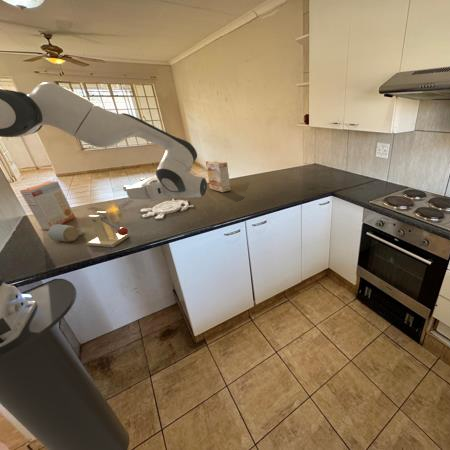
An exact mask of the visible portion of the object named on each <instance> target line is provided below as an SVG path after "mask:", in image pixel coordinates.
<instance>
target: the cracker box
mask: <svg viewBox="0 0 450 450" xmlns="http://www.w3.org/2000/svg"><path fill="white" fill-rule="evenodd" d="M19 192H20V195H21V196H22V197H23V199H24V201H25V203H26V204H27V206H28V208H29V210H30V211H31V213H32V215H33V216H34V218H35V220H36V222H37V223H38V225H39V226H40V228H41V230H49V229H50V228H51V227H52V226H53V225H56V224H62V225H65V224H66V223H68V222H71V221H72V220H74V219H76V215H75V214H74V212H73V210H72V207H71V206H70V205H71V204H70V203H69V201H68V200H67V197H66V196H65V193H64V191H63V190H62V187H61V185H60V183H59V182H58V181H56V180H55V181H49V180H48V181H44V182H42V183H38V184H35V185H33V186H29V187H27V188H24V189H23V188H22V189H20V190H19Z"/></svg>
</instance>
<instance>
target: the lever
mask: <svg viewBox="0 0 450 450" xmlns="http://www.w3.org/2000/svg"><path fill="white" fill-rule="evenodd" d="M95 215H97V216H100V218H101V221H103V222H104V223H106V224H108V225H110V226H111V227H113V228H114V230H115V231H116V230H117V234H120V235H126V234H127V235H128V233H129V229H128V228H127V227H124V226H122V227H120V226H118V225H116V224H115V223H114V222H112V221H111V222H110V221H108V220H106V219H104V218H105V216H104V215H102V214H100V213H98V214H97V213H96V214H95Z"/></svg>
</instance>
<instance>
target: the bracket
mask: <svg viewBox="0 0 450 450" xmlns="http://www.w3.org/2000/svg"><path fill="white" fill-rule="evenodd" d="M98 213H100V214H102V215H104V216H105V218H104V219H106V220H108V221H110V222H111V223H112V220H111V218H110V215H109V213H108V212H107V211H99V210H98V211H96V214H98ZM96 214H90V215H88V219H89V222H90V223H91V225H92V227H93V230H94V232H95V234H96V237H94V238H93V239H91V240H90V241H88V242H87V244H88V246H92V247H105V248H106V247H107V248H114V247H116V246H117V245H119V244H120V243H122V242H124V241H125V240H126V239H128V238H129V234H128V233H127V234H126V235H120V234H119V233H116V229H115V228H113V227H111V226H110V225H108V224H106V223H104V222H103V221H101V218H100V216H97V215H96Z"/></svg>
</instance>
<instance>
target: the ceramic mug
mask: <svg viewBox="0 0 450 450" xmlns="http://www.w3.org/2000/svg"><path fill="white" fill-rule="evenodd" d="M47 231H48V232H47V234H48V237H49V239H51V240H52V241H54V242H66V243H70V242H71V243H72V242H74V241H76V240H77V239H78V238H79V236H81V235H84V231H83V230H79V229H78V228H77V227H76V226H72V225H67V224H56V225H53V226H52V227H51V228H50V229H48V230H47Z"/></svg>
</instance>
